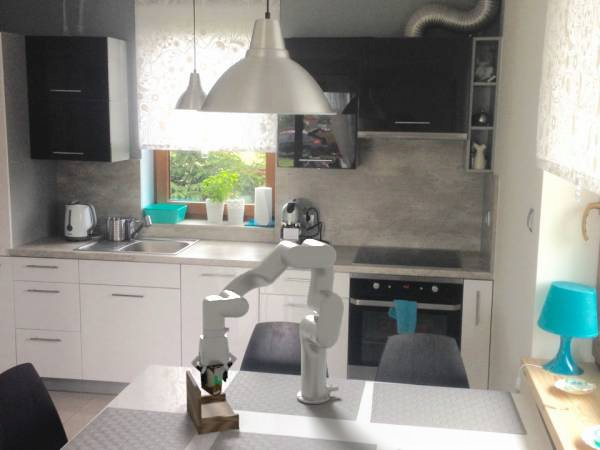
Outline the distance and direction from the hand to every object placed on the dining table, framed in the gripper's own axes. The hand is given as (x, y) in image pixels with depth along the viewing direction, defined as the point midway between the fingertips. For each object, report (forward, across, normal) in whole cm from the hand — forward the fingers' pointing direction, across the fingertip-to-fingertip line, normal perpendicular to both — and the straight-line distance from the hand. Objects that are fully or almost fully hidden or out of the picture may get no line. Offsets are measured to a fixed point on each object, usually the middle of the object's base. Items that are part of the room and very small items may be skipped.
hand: (214, 381), depth 247 cm
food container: (+3, 0, 0) cm, 3 cm away
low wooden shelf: (+14, +1, 0) cm, 14 cm away
